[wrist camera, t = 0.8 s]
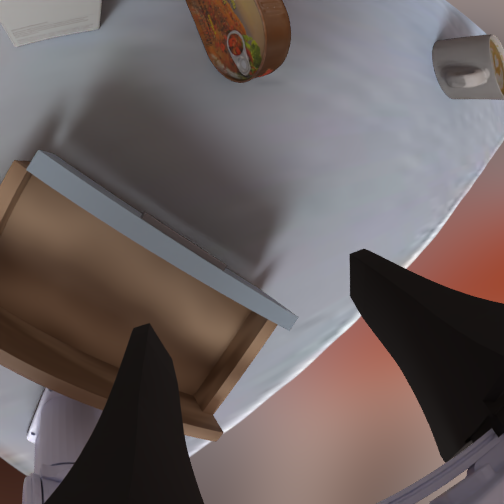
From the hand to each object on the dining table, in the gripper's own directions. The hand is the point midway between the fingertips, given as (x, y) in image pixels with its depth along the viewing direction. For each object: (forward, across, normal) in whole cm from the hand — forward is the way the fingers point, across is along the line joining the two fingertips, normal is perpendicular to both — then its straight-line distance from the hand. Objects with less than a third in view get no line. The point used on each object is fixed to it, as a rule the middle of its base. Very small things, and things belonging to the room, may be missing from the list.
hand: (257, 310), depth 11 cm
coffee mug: (+29, -39, -3) cm, 49 cm away
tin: (+21, -4, -12) cm, 25 cm away
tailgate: (+13, +5, +3) cm, 15 cm away
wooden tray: (+13, +10, +7) cm, 18 cm away
